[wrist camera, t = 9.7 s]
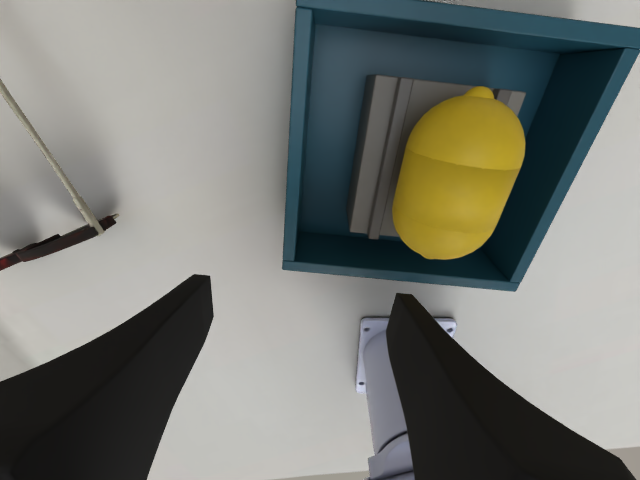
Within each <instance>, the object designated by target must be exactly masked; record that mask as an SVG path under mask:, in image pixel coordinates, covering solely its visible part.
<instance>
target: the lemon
mask: <svg viewBox="0 0 640 480" xmlns="http://www.w3.org/2000/svg"><path fill="white" fill-rule="evenodd" d="M524 155H525V136H524V130H523V128H522V125H521V123H520V121H519V119H518V118H517V116H516V115H515V114H514V112H513V111H512V110H511V109H510V108H509V107H507V106H506V105H505V104H504V103H502V102H500V101H498V100H496V99H494V95H493V93H492V91H491V90H490V89H489V88H487V87H484V86H477V87H474V88H472V89H470V90H468V91H467V92H466V93H465V94H464V95H462V96H457V97H453V98H450V99H448V100H445V101H443V102H441V103H439V104H438V105H436V106H434V107H433V108H431V109H430V110H429V111H428V112H427V113H425V114H424V115H423V116H422V118H421V119H420V120H419V121H418V122H417V124H416V125H415V126H414V128H413V130H412V132H411V134H410V136H409V138H408V141H407V144H406V148H405V152H404V157H403V161H402V165H401V170H400V174H399V178H398V183H397V187H396V191H395V195H394V200H393V207H392V215H393V223H394V226H395V229H396V231H397V233H398V234H399V236H400V238H401V239H402V241H403V242H404V243H405V244H406V245H407V246H408V247H409V248H411V249H412V250H413V251H415V252H417V253H419V254H421V255H422V256H423V257H424V258H426V259H442V260H447V259H454V258H459V257H462V256H465V255H467V254H469V253H472V252H474V251H475V250H476V249H478V248H479V247H481V246H482V245H483V244H484V243H485V242H486V241H487V239H488V238H489V237H490V236H491V234H492V233H493V231H494V229H495V227H496V225H497V223H498V220H499V218H500V216H501V213H502V211H503V208H504V206H505V204H506V201H507V199H508V197H509V194H510V192H511V190H512V187H513V185H514V182H515V180H516V178H517V175H518V173H519V171H520V168H521V165H522V162H523V159H524Z"/></svg>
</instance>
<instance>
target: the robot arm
mask: <svg viewBox="0 0 640 480" xmlns="http://www.w3.org/2000/svg"><path fill="white" fill-rule="evenodd" d="M213 317H214V316H213V304H212V292H211V280H210V276H207V275H197V274H194V275H192V276H191V277H189V278H188V279H187V280H185V281H184V282H182V283H181V284H180V285H178V286H177V287H176V288H174V289H173V290H172V291H170V292H169V293H167V294H166V295H165V296H163V297H162V298H160V299H159V300H157V301H156V302H155V303H153V304H152V305H150V306H149V307H147V308H146V309H144V310H143V311H141V312H140V313H138V314H137V315H135V316H133V317H132V318H130V319H129V320H127V321H126V322H124V323H122V324H121V325H119V326H117V327H116V328H114V329H112V330H111V331H109V332H107V333H105V334H103V335H102V336H100V337H98V338H96V339H94V340H92V341H91V342H89V343H87V344H85V345H83V346H81V347H79V348H76V349H74V350H72V351H70V352H68V353H66V354H64V355H62V356H60V357H58V358H56V359H53V360H51V361H49V362H47V363H45V364H42V365H40V366H38V367H35V368H33V369H31V370H28V371H26V372H24V373H21V374H19V375H16V376H14V377H11V378H9V379H6V380H4V381H1V382H0V480H147V477H148V474H149V471H150V468H151V465H152V462H153V460H154V457H155V454H156V451H157V449H158V446H159V443H160V440H161V437H162V435H163V432H164V430H165V427H166V424H167V422H168V419H169V417H170V414H171V411H172V409H173V406H174V404H175V402H176V400H177V397H178V395H179V393H180V391H181V389H182V387H183V385H184V383H185V381H186V379H187V377H188V375H189V373H190V371H191V369H192V367H193V365H194V363H195V361H196V359H197V357H198V355H199V353H200V351H201V349H202V347H203V344H204V342H205V340H206V337H207V335H208V332H209V329H210V326H211V323H212V320H213ZM365 327H369V328H365ZM456 327H457V323H456V321H455V320H454V319H451V318H433V317H432V316H431V315H430V314H429V313H428V312H427V310H426V309H425V308H424V307H423V306H422V305H421V304H420V303H419V302H418V300H417V299H416V298H415V297H414V296H413V295H412V294H401V293H396V296H395V300H394V304H393V307H392V311H391V314H390V318H364V319H362V320H361V326H360V339H359V351H358V363H357V375H356V391H357V392H358V393H366V394H367V401H368V409H369V417H370V424H371V432H372V440H373V448H374V454H375V456H372V457H369V458H368V464H369V473H370V477H368V478H365V479H363V480H636V479H635V477H634V476H633V475H632V473H631V472H630V471H629V470H628V469H627V467H626V466H625V464H624V463H623V462H622V460H621V459H620V458H618V457H617V456H615V455H613V454H611V453H610V452H608V451H606V450H605V449H603V448H601V447H599V446H598V445H596V444H594V443H593V442H591V441H589V440H587V439H586V438H584V437H582V436H581V435H579V434H577V433H575V432H574V431H572V430H571V429H569V428H567V427H566V426H564V425H563V424H561V423H560V422H558V421H557V420H555V419H553V418H552V417H550V416H549V415H547V414H546V413H544V412H543V411H541V410H540V409H538V408H537V407H535V406H534V405H532V404H531V403H530V402H528V401H527V400H525V399H524V398H523V397H521V396H520V395H519V394H517V393H516V392H515V391H513V390H512V389H510V388H509V387H508V386H506V385H505V384H504V383H503V382H501V381H500V380H499V379H497V378H496V377H495V376H494V375H493V374H491V373H490V372H489V371H488V370H487V369H485V368H484V367H483V366H482V365H481V364H479V363H478V362H477V361H476V360H475V359H474V358H473V357H472V356H471V355H469V354H468V353H467V352H466V351H465V350H464V349H463V348H462V347H461V346H460V345H459V344H458V343H457V342H456V341H455V340H454V339H453V337H454V334H455V330H456ZM448 328H450V329H448Z"/></svg>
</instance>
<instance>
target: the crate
mask: <svg viewBox="0 0 640 480" xmlns="http://www.w3.org/2000/svg"><path fill="white" fill-rule="evenodd" d="M296 6H297V7H296V11H295V30H294V50H293V69H292V89H291V108H290V127H289V147H288V166H287V186H286V205H285V224H284V244H283V263H282V269H283V270H290V271H301V272H312V273H322V274H333V275H344V276H354V277H365V278H376V279H386V280H397V281H408V282H418V283H429V284H440V285H450V286H461V287H472V288H482V289H493V290H504V291H514V292H515V291H516V290H517V288H518V286H519V284H520V282H521V281H522V279H523V277H524V275H525V273H526V271H527V269H528V267H529V265H530V264H531V262H532V260H533V258H534V256H535V254H536V252H537V250H538V248H539V246H540V244H541V242H542V240H543V238H544V236H545V235H546V233H547V231H548V229H549V227H550V225H551V223H552V221H553V219H554V217H555V215H556V213H557V211H558V209H559V207H560V205H561V204H562V202H563V200H564V198H565V196H566V194H567V192H568V190H569V188H570V186H571V184H572V182H573V180H574V178H575V176H576V175H577V173H578V171H579V169H580V167H581V165H582V163H583V161H584V159H585V157H586V155H587V153H588V151H589V149H590V147H591V145H592V144H593V142H594V140H595V138H596V136H597V134H598V132H599V130H600V128H601V126H602V124H603V122H604V120H605V118H606V116H607V115H608V113H609V111H610V109H611V107H612V105H613V103H614V101H615V99H616V97H617V95H618V93H619V91H620V89H621V87H622V85H623V84H624V82H625V80H626V78H627V76H628V74H629V72H630V70H631V68H632V66H633V64H634V62H635V60H636V58H637V56H638V55H639V53H640V50H639V49H640V28H636V27H628V26H620V25H613V24H605V23H597V22H589V21H581V20H573V19H565V18H558V17H550V16H542V15H534V14H526V13H518V12H510V11H503V10H495V9H487V8H479V7H471V6H463V5H455V4H448V3H440V2H432V1H424V0H296ZM377 74H378V75H386V76H395V77H406V78H413V79H420V80H429V81H437V82H446V83H454V84H463V85H471V86H484V87H488V88H499V89H508V90H514V91H522V92H526V95H525V98H524V100H523V103H522V106H521V108H520V111H519V113H518V116H517V118H518V119H519V121H520V123H521V125H522V128H523V130H524V136H525V155H524V159H523V162H522V165H521V168H520V171H519V173H518V175H517V178H516V180H515V182H514V185H513V187H512V190H511V192H510V194H509V197H508V199H507V201H506V204H505V206H504V208H503V211H502V213H501V216H500V218H499V220H498V223H497V225H496V227H495V229H494V231H493V233H492V234H491V236H490V237H489V238H488V239H487V241H486V242H485V243H484V244H483V245H482V246H481V247H479V248H478V249H476V250H475V251H474V252H472V253H469V254H467V255H465V256H462V257H459V258H454V259H447V260H442V259H426V258H424V257H423V256H422V255H421V254H419V253H417V252H415V251H413V250H412V249H411V248H409V247H408V246H407V245H406V244H405V243H404V242H403V241H402V239H401V238H400V237H396V236H386V235H379V239H378V240H377V239H369V238H368V235H367V234H365V233H355V232H350V230H349V224H348V217H347V211H346V206H347V199H348V193H349V186H350V180H351V173H352V167H353V161H354V154H355V148H356V141H357V135H358V128H359V122H360V115H361V109H362V102H363V96H364V89H365V83H366V77H367V75H377Z"/></svg>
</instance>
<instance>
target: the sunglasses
mask: <svg viewBox="0 0 640 480" xmlns="http://www.w3.org/2000/svg"><path fill="white" fill-rule="evenodd" d="M0 93H1V94H2V96H3V97H4V98H5V100H6V101H7V103H8V104H9V106H10V107H11V109H12V110H13V112H14V113H15V114H16V116H17V117H18V119H19V120H20V121H21V123H22V124H23V126H24V127H25V129H26V130H27V131H28V133H29V134H30V136H31V137H32V138H33V140H34V141H35V143H36V144H37V146H38V147H39V148H40V150H41V151H42V153H43V154H44V156H45V157H46V159H47V160H48V161H49V163H50V164H51V166H52V167H53V169H54V170H55V172H56V173H57V175H58V176H59V178H60V179H61V181H62V182H63V184H64V185H65V187H66V188H67V190H68V191H69V193H70V194H71V195H72V197H73V198H74V199H73V202H74V203H75V205H76V206H77V208H78V209H79V210H80V212H81V213H82V215H83V216H84V218H85V219H86V221H87V222H88V224H87V225H85V226H83V227H80V228H78V229H76V230H74V231H71V232H69V233H67V234H65V235H63V236H60V235H59V234H57V235H54V236H52V237H50V238H48V239H45V240H43V241H41V242H39V243H33V244H30V245H28V246H26V247H24V248H23V249H21V250H20V249H17V250H15V251H13V252H12V253H11V254H8V255H6V256H4V257H1V258H0V271H1V270H3V269H5V268H8V267H10V266H12V265H14V264H17V263H19V262H22V261H23V262H26V261H30V260H34V259H37V258H40V257H43V256H46V255H49V254H52V253H55V252H57V251H60V250H63V249H65V248H68V247H70V246H73V245H76V244H78V243H81V242H83V241H86V240H88V239H91V238H93V237H95V236H99V235H101V234H103V233H104V231H106V229H108V228H109V227H111V226H113V225H114V224H116V222H115V220H114V219H115V218H117V217H118V216H119V214H114V215H109V216H107V217H105V218H103V219H100V220H96V218H95V217H94V215H93V214H92V212H91V211H90V209H89V207H88V206H87V205H86V203H85V202H84V200H83V199H82V197H81V196H80V195H79V194H78V193H77V191H76V190H75V188H74V187H73V185H72V184H71V183H70V181H69V180H68V178H67V177H66V175H65V174H64V172H63V171H62V169H61V168H60V166H59V165H58V163H57V162H56V160H55V159H54V157H53V156H52V154H51V153H50V151H49V150H48V149H47V147H46V146H45V144H44V143H43V141H42V140H41V138H40V137H39V135H38V134H37V132H36V131H35V129H34V128H33V126H32V125H31V124H30V122H29V121H28V119H27V118H26V116H25V115H24V113H23V112H22V110H21V109H20V107H19V106H18V105H17V103H16V102H15V100H14V99H13V97H12V96H11V94H10V93H9V91H8V90H7V88H6V87H5V85H4V84H3V82H2V80H1V79H0Z"/></svg>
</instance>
